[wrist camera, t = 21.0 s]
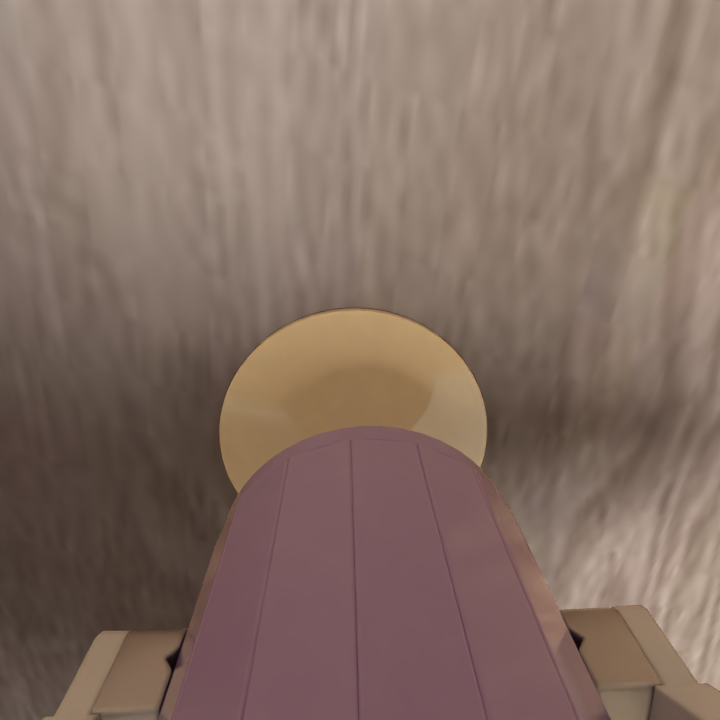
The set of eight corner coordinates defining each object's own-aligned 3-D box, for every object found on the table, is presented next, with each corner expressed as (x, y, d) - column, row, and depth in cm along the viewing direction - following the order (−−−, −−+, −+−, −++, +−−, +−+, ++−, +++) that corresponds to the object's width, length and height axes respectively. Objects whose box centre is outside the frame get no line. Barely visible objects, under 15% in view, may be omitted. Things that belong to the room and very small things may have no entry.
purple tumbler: (221, 662, 13) (99, 1173, 7) (221, 415, 11) (43, 794, 4) (489, 672, 13) (630, 1167, 7) (536, 434, 11) (803, 813, 5)
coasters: (161, 825, 23) (159, 834, 23) (62, 314, 16) (57, 317, 16) (461, 812, 23) (463, 820, 23) (493, 304, 16) (495, 306, 16)
